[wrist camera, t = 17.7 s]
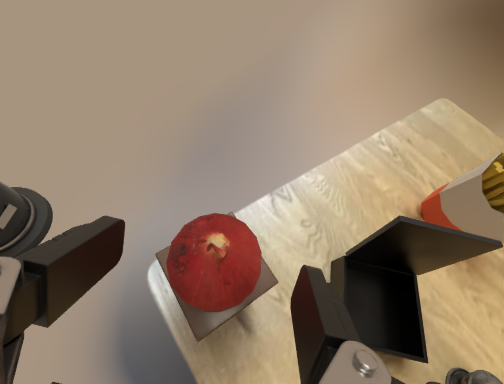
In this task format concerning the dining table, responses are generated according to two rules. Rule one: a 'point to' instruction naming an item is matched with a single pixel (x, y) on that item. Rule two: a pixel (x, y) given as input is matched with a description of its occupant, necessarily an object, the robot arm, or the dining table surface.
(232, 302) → the pomegranate
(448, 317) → the dining table surface
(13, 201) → the robot arm
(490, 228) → the french fries container
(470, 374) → the grey chess piece
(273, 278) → the pedestal
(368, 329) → the box
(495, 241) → the box lid
